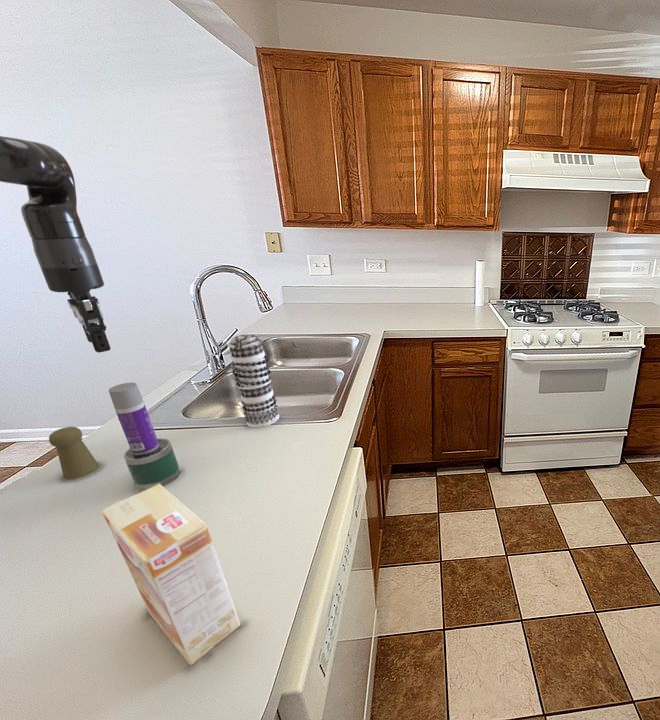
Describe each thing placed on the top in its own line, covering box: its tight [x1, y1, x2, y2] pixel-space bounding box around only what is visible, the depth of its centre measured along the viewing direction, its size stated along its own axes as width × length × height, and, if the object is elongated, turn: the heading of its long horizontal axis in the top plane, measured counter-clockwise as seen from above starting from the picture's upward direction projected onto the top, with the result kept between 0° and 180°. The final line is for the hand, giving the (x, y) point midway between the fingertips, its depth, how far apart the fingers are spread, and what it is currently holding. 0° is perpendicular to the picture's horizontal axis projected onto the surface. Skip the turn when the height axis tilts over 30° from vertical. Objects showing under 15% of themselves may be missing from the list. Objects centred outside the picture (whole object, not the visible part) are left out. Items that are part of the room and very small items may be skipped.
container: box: [108, 382, 159, 455], centre depth 84 cm, size 5×5×15 cm
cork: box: [48, 426, 100, 480], centre depth 90 cm, size 6×6×11 cm
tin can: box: [123, 437, 181, 491], centre depth 88 cm, size 8×8×8 cm
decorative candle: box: [226, 333, 280, 428], centre depth 109 cm, size 9×9×25 cm
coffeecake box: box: [100, 484, 242, 666], centre depth 56 cm, size 15×7×20 cm, turn 56°
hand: (99, 346), depth 79 cm, fingers open, 8 cm apart
